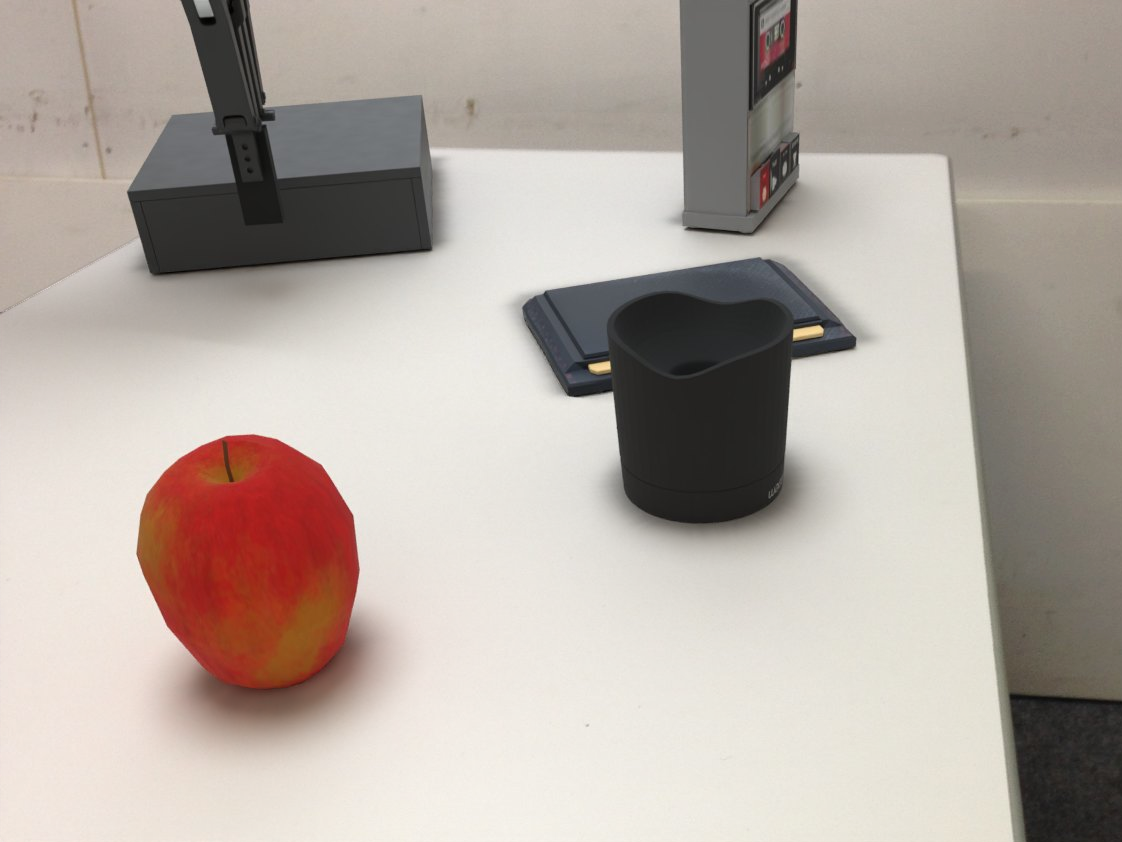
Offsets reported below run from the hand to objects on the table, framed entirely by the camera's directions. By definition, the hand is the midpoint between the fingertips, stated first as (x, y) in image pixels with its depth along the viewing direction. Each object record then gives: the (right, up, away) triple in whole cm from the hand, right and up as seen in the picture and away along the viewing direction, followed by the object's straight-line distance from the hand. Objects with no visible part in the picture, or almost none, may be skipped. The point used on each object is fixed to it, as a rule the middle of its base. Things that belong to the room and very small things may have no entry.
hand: (265, 220), depth 93 cm
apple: (+11, -32, -34) cm, 48 cm away
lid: (-1, +5, +16) cm, 17 cm away
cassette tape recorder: (+36, +6, +14) cm, 39 cm away
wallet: (+30, -9, -5) cm, 32 cm away
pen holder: (+31, -23, -23) cm, 45 cm away
